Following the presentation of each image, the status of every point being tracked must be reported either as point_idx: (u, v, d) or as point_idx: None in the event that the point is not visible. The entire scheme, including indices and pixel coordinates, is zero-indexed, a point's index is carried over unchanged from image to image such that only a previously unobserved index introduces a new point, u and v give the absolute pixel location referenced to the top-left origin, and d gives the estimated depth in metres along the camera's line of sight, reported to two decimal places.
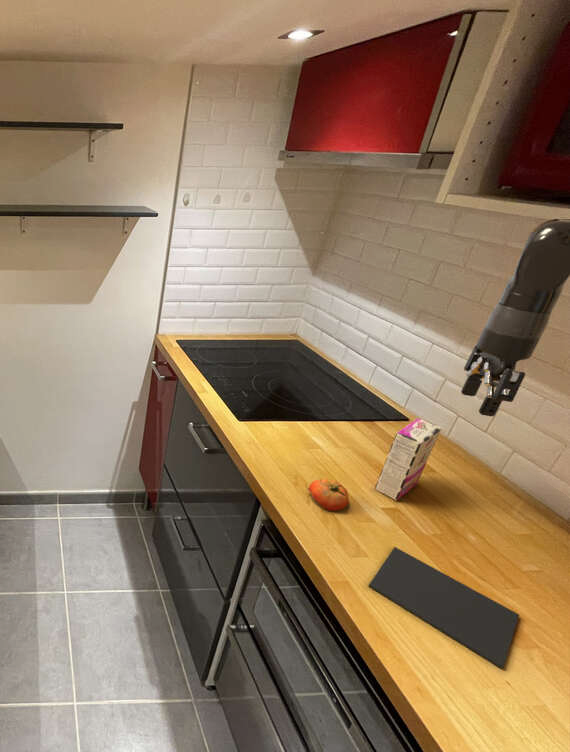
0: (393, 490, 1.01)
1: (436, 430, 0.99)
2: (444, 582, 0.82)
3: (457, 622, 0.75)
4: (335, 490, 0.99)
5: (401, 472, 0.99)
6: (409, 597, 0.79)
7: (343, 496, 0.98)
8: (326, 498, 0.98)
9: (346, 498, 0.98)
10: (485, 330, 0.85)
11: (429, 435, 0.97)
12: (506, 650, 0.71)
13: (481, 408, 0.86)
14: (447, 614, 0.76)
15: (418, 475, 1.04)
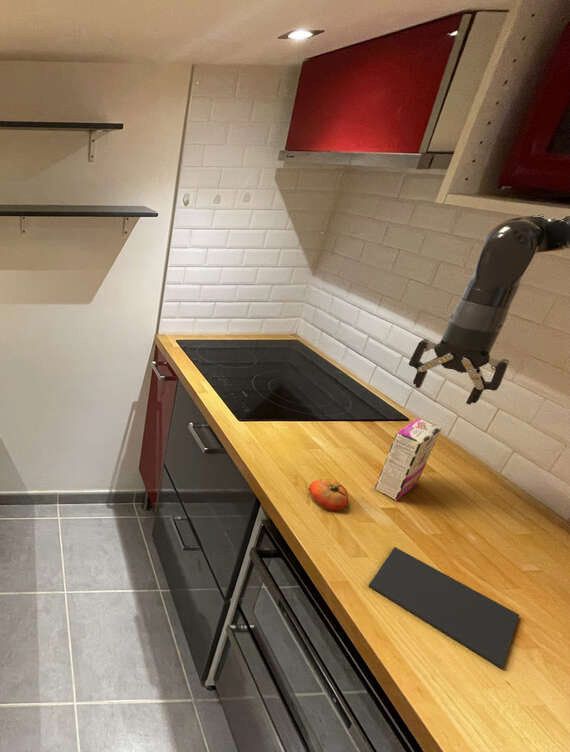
0: (393, 490, 1.01)
1: (436, 430, 0.99)
2: (444, 582, 0.82)
3: (457, 622, 0.75)
4: (335, 490, 0.99)
5: (401, 472, 0.99)
6: (409, 597, 0.79)
7: (343, 496, 0.98)
8: (326, 498, 0.98)
9: (346, 498, 0.98)
10: (468, 331, 0.86)
11: (429, 435, 0.97)
12: (506, 650, 0.71)
13: (470, 399, 0.90)
14: (447, 614, 0.76)
15: (418, 475, 1.04)
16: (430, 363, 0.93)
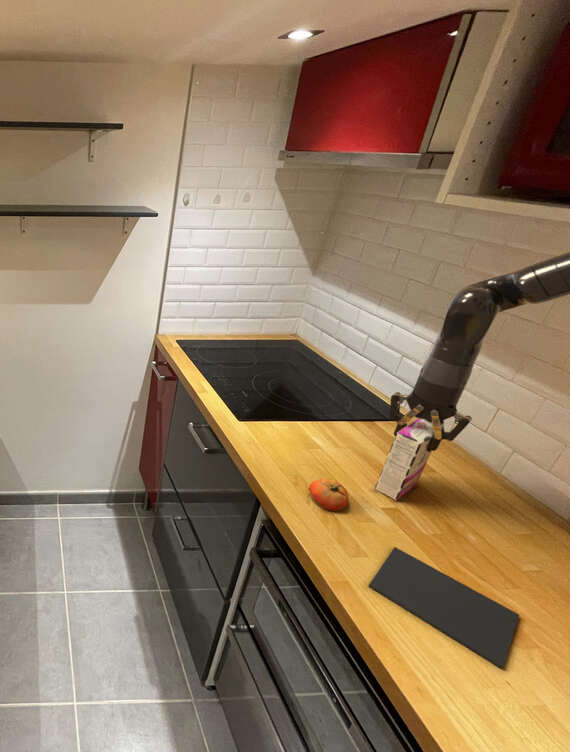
0: (393, 490, 1.01)
1: None
2: (444, 582, 0.82)
3: (457, 622, 0.75)
4: (335, 490, 0.99)
5: (402, 472, 0.99)
6: (409, 597, 0.79)
7: (343, 496, 0.98)
8: (326, 498, 0.98)
9: (346, 498, 0.98)
10: (436, 386, 0.92)
11: (429, 435, 0.97)
12: (506, 650, 0.71)
13: (430, 448, 0.98)
14: (447, 614, 0.76)
15: (418, 475, 1.04)
16: (406, 416, 0.99)
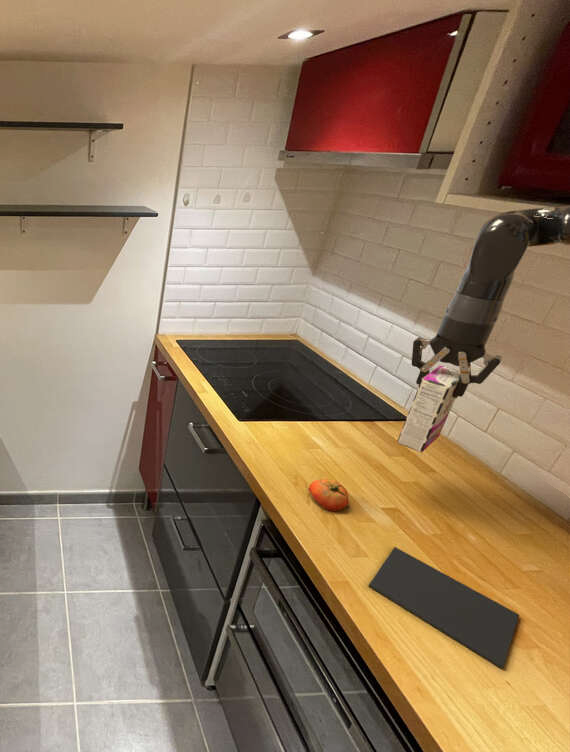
0: (418, 441, 0.95)
1: None
2: (444, 582, 0.82)
3: (457, 622, 0.75)
4: (335, 490, 0.99)
5: (427, 421, 0.93)
6: (409, 597, 0.79)
7: (343, 496, 0.98)
8: (326, 498, 0.98)
9: (346, 498, 0.98)
10: (464, 324, 0.86)
11: (456, 380, 0.91)
12: (506, 650, 0.71)
13: (457, 393, 0.92)
14: (447, 614, 0.76)
15: (441, 426, 0.98)
16: (430, 361, 0.93)
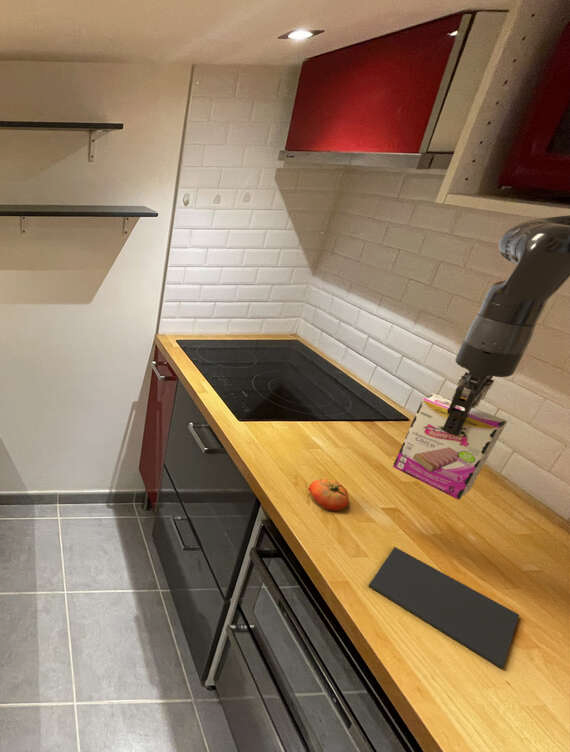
0: (471, 484, 0.83)
1: None
2: (444, 582, 0.82)
3: (457, 622, 0.75)
4: (335, 490, 0.99)
5: (484, 462, 0.81)
6: (409, 597, 0.79)
7: (343, 496, 0.98)
8: (326, 498, 0.98)
9: (346, 498, 0.98)
10: (522, 355, 0.73)
11: (472, 408, 0.81)
12: (506, 650, 0.71)
13: None
14: (447, 614, 0.76)
15: None
16: (477, 405, 0.77)
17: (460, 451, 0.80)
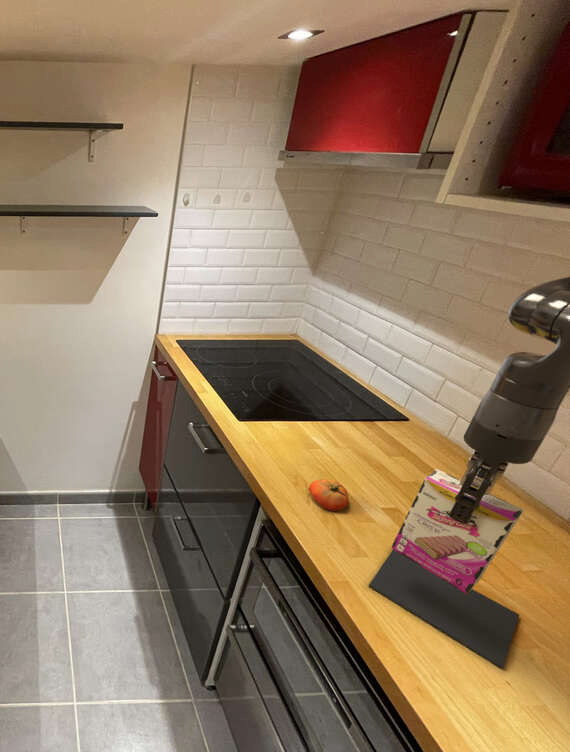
0: (481, 576, 0.72)
1: (453, 477, 0.73)
2: (444, 582, 0.82)
3: (457, 622, 0.75)
4: (335, 490, 0.99)
5: None
6: (409, 597, 0.79)
7: (343, 496, 0.98)
8: (326, 498, 0.98)
9: (346, 498, 0.98)
10: None
11: None
12: (506, 650, 0.71)
13: None
14: (447, 614, 0.76)
15: None
16: (489, 493, 0.66)
17: (469, 541, 0.70)
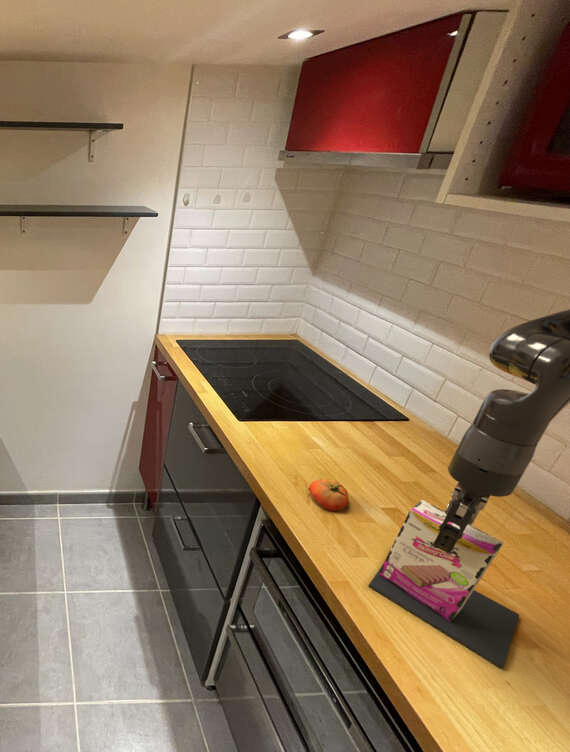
0: (464, 604, 0.75)
1: (437, 508, 0.76)
2: None
3: (457, 622, 0.75)
4: (335, 490, 0.99)
5: None
6: (409, 597, 0.79)
7: (343, 496, 0.98)
8: (326, 498, 0.98)
9: (346, 498, 0.98)
10: None
11: None
12: (506, 650, 0.71)
13: None
14: None
15: None
16: (472, 523, 0.68)
17: (452, 572, 0.73)
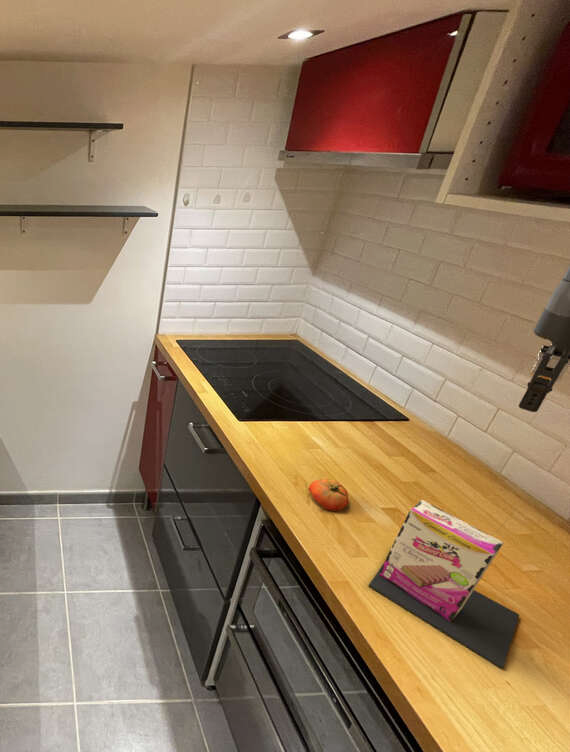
0: (464, 604, 0.75)
1: (437, 508, 0.76)
2: None
3: (457, 622, 0.75)
4: (335, 490, 0.99)
5: None
6: (409, 597, 0.79)
7: (343, 496, 0.98)
8: (326, 498, 0.98)
9: (346, 498, 0.98)
10: None
11: None
12: (506, 650, 0.71)
13: None
14: None
15: None
16: (561, 377, 0.70)
17: (452, 572, 0.73)
